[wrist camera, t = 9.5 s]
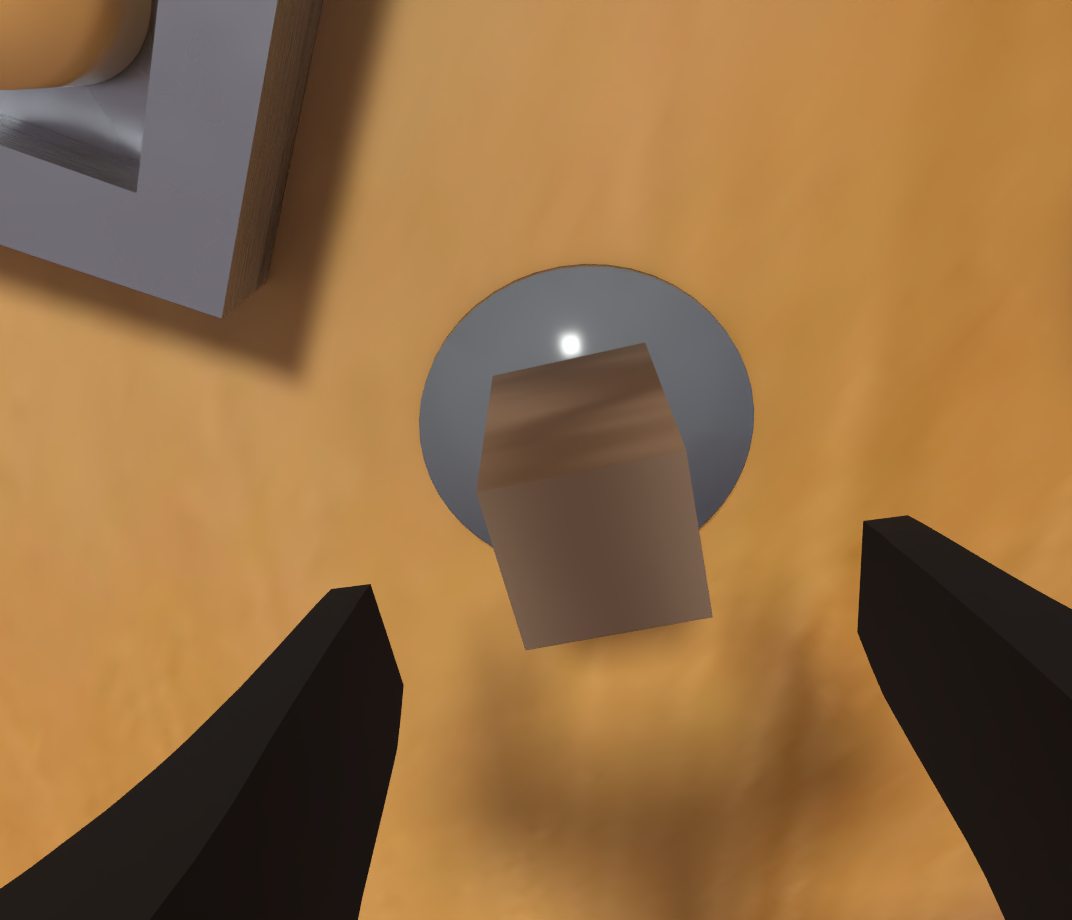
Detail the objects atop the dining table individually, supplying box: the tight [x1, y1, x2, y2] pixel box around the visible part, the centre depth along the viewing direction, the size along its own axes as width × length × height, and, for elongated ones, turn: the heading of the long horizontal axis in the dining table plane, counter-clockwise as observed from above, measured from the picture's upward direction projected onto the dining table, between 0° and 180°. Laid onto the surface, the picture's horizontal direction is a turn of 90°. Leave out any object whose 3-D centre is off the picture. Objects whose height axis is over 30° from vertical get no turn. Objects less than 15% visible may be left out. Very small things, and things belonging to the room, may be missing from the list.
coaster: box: [419, 264, 754, 547], centre depth 21 cm, size 9×9×1 cm
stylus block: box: [476, 343, 712, 650], centre depth 18 cm, size 4×4×6 cm
